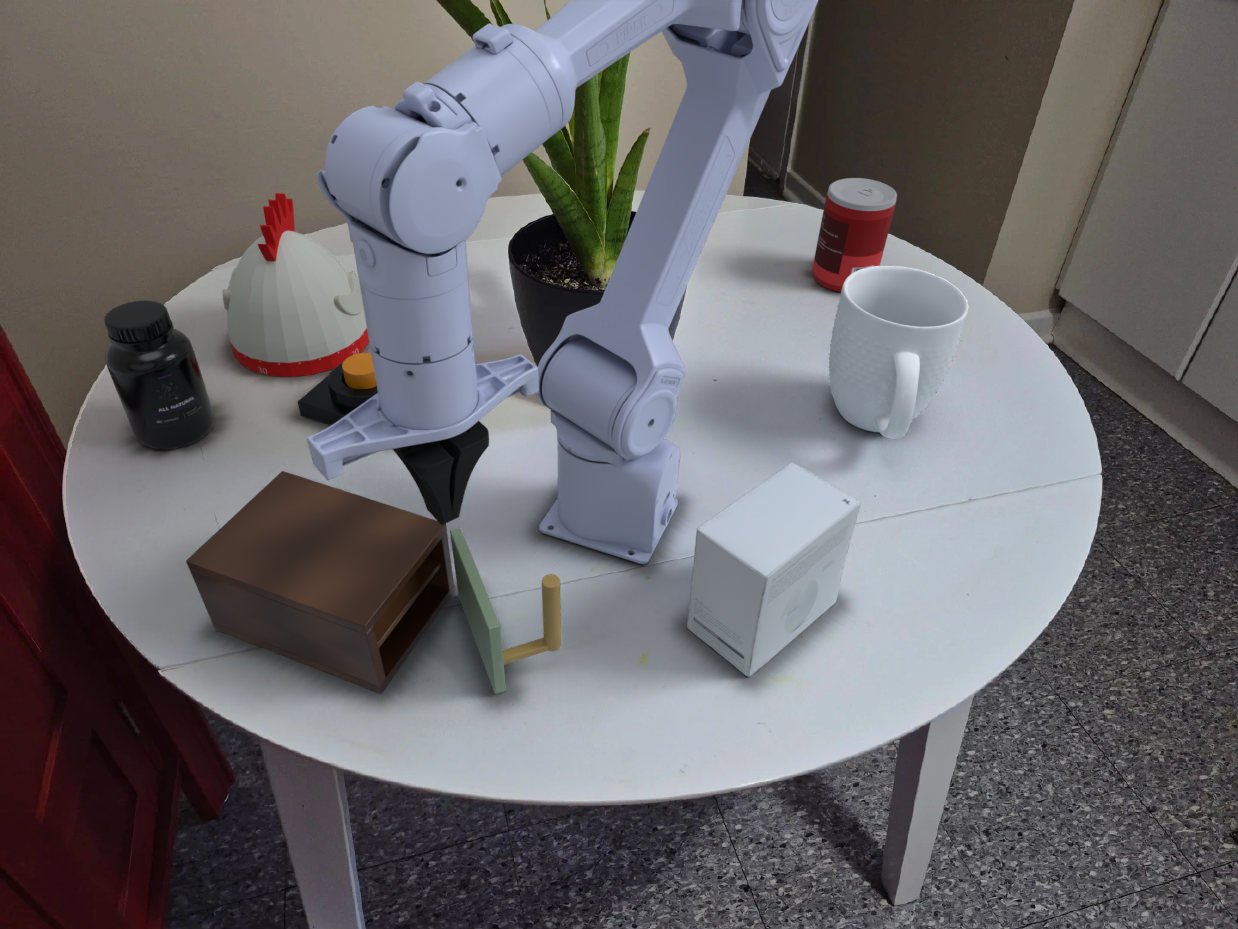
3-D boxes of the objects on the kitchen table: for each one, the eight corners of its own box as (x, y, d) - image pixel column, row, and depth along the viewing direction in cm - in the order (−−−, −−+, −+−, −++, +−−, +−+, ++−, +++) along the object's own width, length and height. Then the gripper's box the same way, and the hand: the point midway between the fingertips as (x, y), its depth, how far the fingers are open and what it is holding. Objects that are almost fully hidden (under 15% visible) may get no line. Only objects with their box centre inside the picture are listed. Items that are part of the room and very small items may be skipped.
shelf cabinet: (455, 590, 66) (446, 523, 61) (381, 694, 59) (364, 626, 54) (302, 538, 70) (282, 470, 65) (214, 629, 62) (185, 560, 58)
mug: (947, 480, 77) (993, 358, 69) (823, 470, 78) (854, 347, 70) (919, 384, 89) (956, 269, 80) (811, 375, 89) (836, 259, 81)
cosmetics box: (770, 557, 70) (792, 457, 63) (836, 603, 66) (866, 503, 59) (680, 625, 64) (693, 524, 57) (747, 680, 61) (769, 579, 54)
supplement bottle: (190, 457, 76) (146, 341, 69) (119, 445, 77) (68, 330, 69) (231, 411, 82) (195, 299, 74) (165, 400, 82) (122, 288, 75)
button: (392, 373, 82) (390, 358, 81) (370, 394, 79) (367, 378, 78) (360, 364, 83) (357, 349, 81) (337, 384, 80) (334, 369, 79)
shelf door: (524, 576, 67) (519, 497, 61) (567, 671, 60) (566, 591, 55) (458, 595, 65) (447, 515, 60) (495, 695, 59) (486, 615, 53)
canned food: (884, 274, 106) (906, 187, 99) (861, 301, 101) (883, 211, 94) (825, 256, 109) (843, 171, 102) (801, 282, 104) (817, 194, 97)
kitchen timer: (384, 307, 97) (362, 176, 87) (352, 379, 86) (324, 238, 76) (258, 302, 96) (223, 170, 87) (212, 373, 86) (165, 232, 76)
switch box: (437, 396, 84) (434, 366, 82) (392, 443, 79) (386, 413, 76) (350, 371, 87) (344, 342, 85) (300, 416, 81) (292, 385, 79)
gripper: (491, 272, 55) (501, 441, 63) (266, 346, 47) (312, 525, 56) (558, 320, 51) (558, 493, 59) (324, 408, 43) (364, 590, 52)
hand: (443, 512), depth 57 cm, fingers closed
